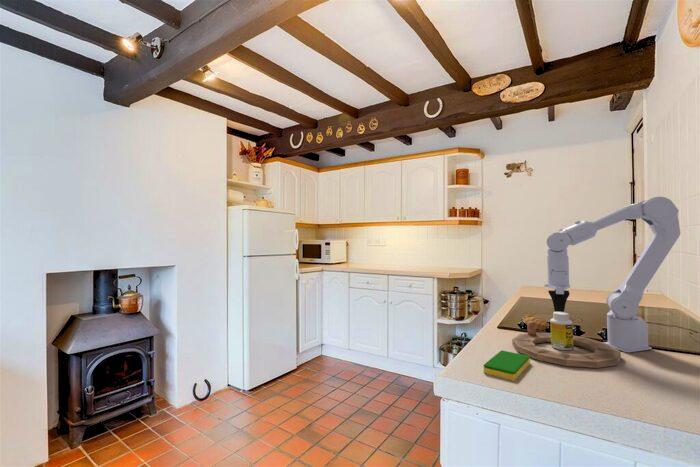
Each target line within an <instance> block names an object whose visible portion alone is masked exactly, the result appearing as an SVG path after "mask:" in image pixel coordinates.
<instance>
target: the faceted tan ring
mask: <svg viewBox="0 0 700 467" xmlns="http://www.w3.org/2000/svg"><path fill="white" fill-rule="evenodd" d="M526 329H527V333H522V334H517V335H516V336H515V337H514V338H512V341H511V343H512V346H513V347H514V348H515V350H516V351H517V352H518V353H519V354H523V355H528V356H530V358H532V359H535V360H537V361H542V362H547V363H552V364H557V365H562V366H566V367H581V368H593V369H594V368H595V369H599V368H604V367H612V366H617V365H618V364H619V362H620V360H621V356H622V355H621V354H622V353H621V350H617V349H615V348H613V347H612V346H610V345H609V344H606V343H603V342H604V341H603V342H602V341H599V340H595V339H592V338H589V337H585V336H578V335H573V346H577V347H580V348H584V349H587V350H589V351H591V352H590V353H581V354H579V353H564V352H560V351H559V352H558V351H554V350H549V349H546V348H543V347H540V346H538V345H536V344H540V343H542V344H543V343H551V332H538V331H537V330H536V322H534V321H527V327H526Z"/></svg>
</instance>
